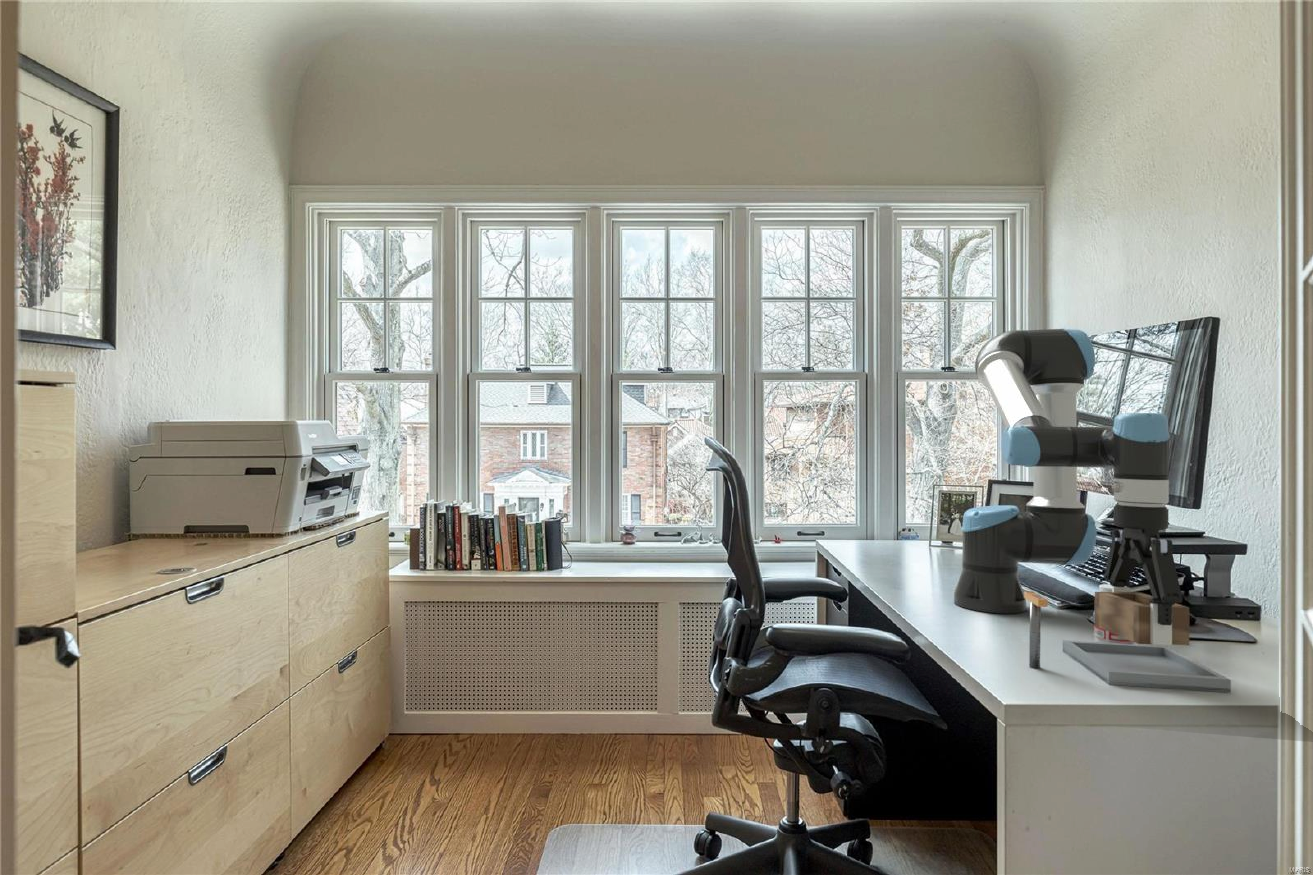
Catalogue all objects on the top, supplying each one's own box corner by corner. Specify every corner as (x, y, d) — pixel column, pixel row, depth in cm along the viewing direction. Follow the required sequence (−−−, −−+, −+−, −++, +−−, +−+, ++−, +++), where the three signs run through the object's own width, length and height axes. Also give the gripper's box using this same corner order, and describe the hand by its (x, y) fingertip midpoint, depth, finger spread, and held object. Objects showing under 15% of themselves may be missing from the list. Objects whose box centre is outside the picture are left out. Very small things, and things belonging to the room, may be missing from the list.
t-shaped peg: (1022, 660, 116) (1023, 590, 116) (1032, 661, 116) (1033, 591, 116) (1037, 672, 110) (1037, 599, 110) (1047, 673, 109) (1048, 599, 109)
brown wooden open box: (1094, 625, 117) (1094, 591, 117) (1147, 626, 117) (1147, 592, 117) (1138, 644, 106) (1138, 606, 106) (1196, 645, 106) (1196, 607, 106)
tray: (1062, 651, 122) (1062, 640, 122) (1166, 657, 119) (1166, 646, 119) (1108, 684, 105) (1108, 671, 105) (1230, 692, 102) (1230, 679, 102)
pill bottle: (1139, 646, 125) (1140, 587, 125) (1125, 651, 122) (1125, 591, 122) (1103, 638, 130) (1103, 581, 130) (1088, 643, 127) (1088, 585, 127)
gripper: (1083, 498, 124) (1082, 614, 124) (1156, 510, 101) (1155, 653, 100) (1127, 499, 123) (1127, 617, 123) (1211, 511, 99) (1211, 657, 99)
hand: (1140, 633), depth 112 cm, fingers closed on brown wooden open box, 12 cm apart
